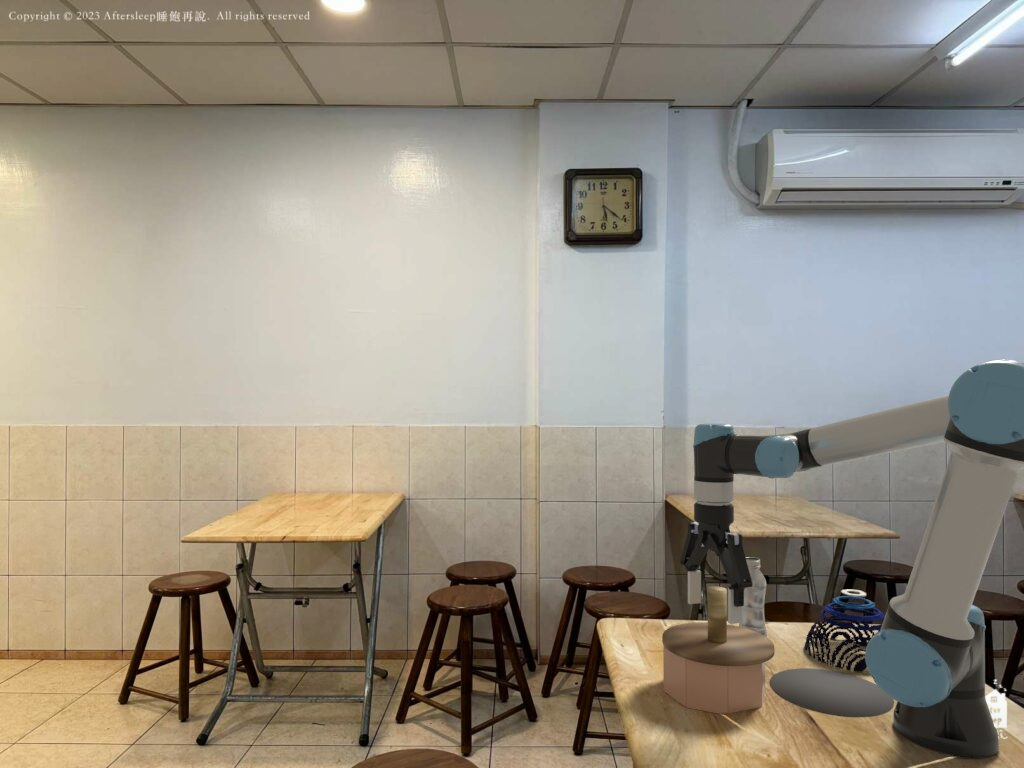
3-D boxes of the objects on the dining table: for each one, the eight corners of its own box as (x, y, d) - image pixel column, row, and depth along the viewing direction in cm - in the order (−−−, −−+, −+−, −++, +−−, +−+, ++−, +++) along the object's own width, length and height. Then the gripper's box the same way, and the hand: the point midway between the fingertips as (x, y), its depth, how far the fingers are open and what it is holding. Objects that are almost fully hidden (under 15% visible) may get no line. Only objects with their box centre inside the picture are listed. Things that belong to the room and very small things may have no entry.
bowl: (784, 704, 129) (784, 656, 129) (703, 720, 122) (703, 669, 123) (723, 668, 146) (723, 625, 146) (648, 680, 139) (648, 635, 140)
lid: (799, 654, 130) (798, 596, 130) (713, 674, 120) (713, 611, 121) (720, 621, 148) (720, 570, 149) (640, 636, 139) (640, 581, 139)
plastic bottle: (769, 643, 161) (769, 557, 161) (764, 652, 155) (763, 563, 155) (741, 638, 164) (740, 554, 164) (734, 647, 158) (734, 560, 158)
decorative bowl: (922, 679, 141) (922, 608, 141) (819, 672, 144) (819, 603, 145) (886, 644, 161) (886, 582, 161) (796, 639, 164) (796, 578, 164)
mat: (922, 708, 127) (921, 705, 127) (829, 727, 120) (829, 725, 120) (829, 664, 148) (829, 662, 148) (745, 678, 140) (745, 676, 140)
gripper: (772, 511, 125) (773, 630, 124) (693, 493, 147) (693, 593, 147) (738, 513, 122) (739, 635, 122) (662, 494, 145) (663, 597, 144)
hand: (714, 612), depth 134 cm, fingers open, 12 cm apart
